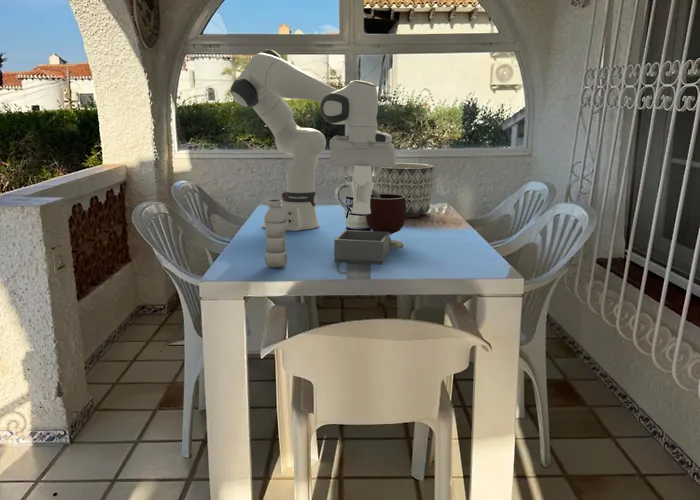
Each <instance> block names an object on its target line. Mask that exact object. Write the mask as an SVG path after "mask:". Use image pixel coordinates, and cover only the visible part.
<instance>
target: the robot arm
mask: <svg viewBox="0 0 700 500" xmlns="http://www.w3.org/2000/svg"><path fill="white" fill-rule="evenodd" d="M230 94H231V96H232V97H233V99H234V101H235V102H237V104H239V105H240V106H242V107H243V108H247V109H253V110H254V112H255V113H256V114H257V115H258V116H259V118H261V120H262V121H263V122H264V123H265V125H266V126H267V127H268V128H269V130H270V131H271V133H272V135H273V136H274V145H275V147H276V149H277V150H278V151H280V152H281V153H283V154H285V155H288V156H292V162H291V164H290V166H289V168H288V169H287V171H286V190H285V191H284V192H283V193H282V194H281V198H282V199H281V205H282V207H281V209H282V210H283V212H284V213H285V214H286V217H287V221H286V230H285V231H294V232H295V231H296V232H298V231H302V230H312V229H315V228H319V227H320V224H319V219H318V216H317V207H316V205H317V192H316V189H315V185H316V184H315V182H316V181H315V179H316V178H315V177H316V168H317V163H318V160H319V158H320V156H321V155H322V154H323V152H324V151H325V149H326V146H327V139H326V136H325V134H324V133H322V132H321V131H320V130H317V129H315V128H311V127H302V126H299V125H298V124H297V122H296V121H295V119H294V118H295V117H294V110H293V109H292V108H291V106H290V105H289V104H288V102H287V101H286V100H285V99H284V98H286V99H291V100H293V99H294V100H309V101H315V102H318V103H320V114H321V116H322V118H323V120H324V121H325V122H326V123H328V124H330V125H331V124H332V125H347V128H348V130H347V131H348V132H347V133H348V135H334V136H333V137H331V138H330V139H329V141H328V142H329V143H328V144H329V149H330V152H329V153H330V154H329V164H330V165H331V166H332V167H342V171H343V173H344V174H345V176H346V182H349V183H352V174H350V172H349V170H350V167H351V168H353V165H361V166H372V167H374V168H375V167H377V171H378V173H377V175H376V176H375V175H374V177H373V182H374V183H375V182H378V176H379V175H380V173H381V171H382V167H388V168H392V167H394V166H395V165H396V163H397V155H396V147H395V145H394V144H393V143H392V141H393V136H392V134H389V133H387V132H384V131H381V130H378V127H379V125H378V121H377V116H378V112H379V111H378V110H379V100H378V99H379V97H378V90H377V86H376V85H375V83H373V82H370V81H368V80H367V81H365V80H359V79H353V80H351V81H350V82H349V83H347V85H346V86H344V87H342V88H340V89H339V88H337V87H334V86H332V85H330V84H328V83H325V82H323V81H322V80H319V79H317V78H316V77H314V76H313V75H311V74H309V73H307V72H305V71H303V70H302V69H300V68H298V67H297V66H296V65H294V64H292V63H290V62H289V61H286V60H284V59H283V58H282V56H281V55H280V54H279V53H278V52H276V51H275V50H274V49H270V48H269V49H267V48H266V49H265V50H262V51H261V52H260V53H259V52H258V53H256V54H254V55H253V56H252V57H251V58H250V60H249V61H248V65H246V66H245V68H244V70H242V71H241V73H240V74H239V76H238V77H237V79H235V80H234V81H233V83H232V85H231V87H230ZM262 228H263V229H266V228H265V222H264V223H263V224H262Z"/></svg>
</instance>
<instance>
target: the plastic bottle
mask: <svg viewBox="0 0 700 500" xmlns="http://www.w3.org/2000/svg"><path fill="white" fill-rule="evenodd" d="M281 202H282V199H276V198H274V199H269V200H268V205H267V207H268V210H267V211H266V213H265V215H264V216H263V217H264V218H263V221H264V223H265V228H264V229H265V233H266V235H265V236H266V248H265V249H266V250H265V254H264V260H265V265H266V267H269V268H272V269H273V268H275V269H278V268H282V267H285V266H286V265H287V264H288V258H289V257H288V253H287V245H286V231H287V230H286V221H287V217H286V214H285V213H284V212H283V210H282V209H281V207H282V205H281Z"/></svg>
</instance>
